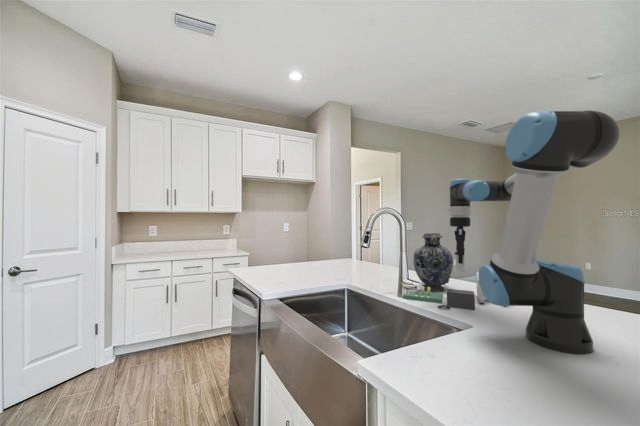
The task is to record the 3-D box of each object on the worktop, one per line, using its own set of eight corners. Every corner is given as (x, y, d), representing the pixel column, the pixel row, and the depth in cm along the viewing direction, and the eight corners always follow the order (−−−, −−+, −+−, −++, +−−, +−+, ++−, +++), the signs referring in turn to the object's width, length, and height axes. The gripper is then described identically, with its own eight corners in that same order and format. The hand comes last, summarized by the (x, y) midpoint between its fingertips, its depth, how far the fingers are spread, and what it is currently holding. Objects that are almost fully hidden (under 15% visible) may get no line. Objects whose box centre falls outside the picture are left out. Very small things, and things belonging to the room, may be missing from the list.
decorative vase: (456, 295, 131) (455, 234, 132) (414, 293, 137) (413, 234, 138) (450, 285, 152) (449, 232, 152) (413, 283, 157) (412, 232, 158)
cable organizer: (508, 308, 114) (507, 279, 115) (478, 304, 119) (477, 276, 119) (502, 298, 128) (502, 272, 128) (475, 295, 133) (475, 270, 133)
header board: (441, 303, 121) (441, 291, 121) (402, 298, 127) (402, 287, 127) (442, 297, 130) (442, 286, 130) (406, 293, 136) (406, 282, 137)
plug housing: (473, 305, 117) (473, 291, 117) (474, 310, 112) (474, 294, 112) (447, 302, 122) (447, 288, 122) (446, 306, 116) (446, 292, 116)
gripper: (450, 216, 130) (450, 263, 130) (449, 217, 108) (449, 273, 107) (468, 216, 127) (468, 264, 127) (472, 217, 104) (472, 275, 104)
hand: (460, 268), depth 117 cm, fingers open, 13 cm apart
